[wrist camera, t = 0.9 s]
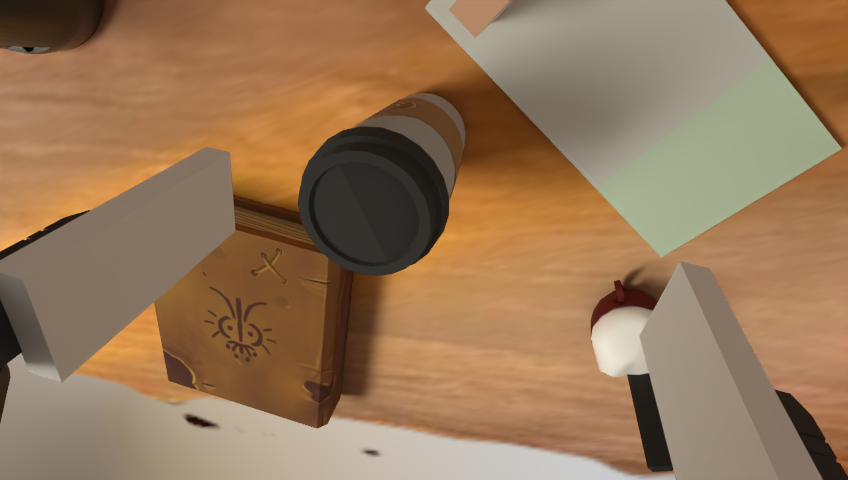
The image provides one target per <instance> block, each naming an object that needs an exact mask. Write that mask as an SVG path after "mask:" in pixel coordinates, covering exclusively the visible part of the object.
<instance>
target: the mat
mask: <svg viewBox="0 0 848 480" xmlns="http://www.w3.org/2000/svg"><path fill="white" fill-rule="evenodd" d="M455 1H456V0H431V1H430V2H429V3H428V4H427V6H426V7H425V9H426V10H427V11H428V12H429V13H430V15H431V16H432V17H433V18H434V19H435V20H436V21H437V22H438V23H439V24H440V25H441V26H442V27H443V28H444V29H445V30H446V31H447V32H448V33H449V35H450V36H451V37H452V38H453V39H454V40H455V41H456V42H457V43H458V44H459V45H460V46H461V47H462V48H463V49H464V50H465V51H466V52H467V53H468V55H469V56H470V57H471V58H472V59H473V60H474V61H475V62H476V63H477V64H478V65H479V66H480V67H481V68H482V69H483V70H484V71H485V72H486V73H487V75H488V76H489V77H490V78H491V79H492V80H493V81H494V82H495V83H496V84H497V85H498V86H499V87H500V88H501V89H502V90H503V91H504V92H505V93H506V95H507V96H508V97H509V98H510V99H511V100H512V101H513V102H514V103H515V104H516V105H517V106H518V107H519V108H520V109H521V110H522V111H523V112H524V113H525V115H526V116H527V117H528V118H529V119H530V120H531V121H532V122H533V123H534V124H535V125H536V126H537V127H538V128H539V129H540V130H541V131H542V132H543V133H544V135H545V136H546V137H547V138H548V139H549V140H550V141H551V142H552V143H553V144H554V145H555V146H556V147H557V148H558V149H559V150H560V151H561V152H562V153H563V155H564V156H565V157H566V158H567V159H568V160H569V161H570V162H571V163H572V164H573V165H574V166H575V167H576V168H577V169H578V170H579V171H580V172H581V173H582V175H583V176H584V177H585V178H586V179H587V180H588V181H589V182H590V183H591V184H592V185H593V186H594V187H595V188H596V189H597V190H598V191H599V192H600V193H601V194H602V195H603V196H604V198H605V199H606V200H607V201H608V202H609V203H610V204H611V205H612V206H613V207H614V208H615V209H616V210H617V211H618V212H619V213H620V214H621V215H622V217H623V218H624V219H625V220H626V221H627V222H628V223H629V224H630V225H631V226H632V227H633V228H634V229H635V230H636V231H637V232H638V233H639V234H640V235H641V237H642V238H643V239H644V240H645V241H646V242H647V243H648V244H649V245H650V246H651V247H652V248H653V249H654V250H655V251H656V252H657V253H658V254H659V255H660V257H663V256H665V255H666V254H668V253H670V252H671V251H673V250H675V249H676V248H678V247H680V246H681V245H683V244H685V243H686V242H688V241H690V240H691V239H693V238H695V237H696V236H698V235H700V234H701V233H703V232H705V231H706V230H708V229H710V228H711V227H713V226H715V225H716V224H718V223H720V222H721V221H723V220H725V219H726V218H728V217H730V216H731V215H733V214H734V213H736V212H738V211H739V210H741V209H743V208H744V207H746V206H748V205H749V204H751V203H753V202H754V201H756V200H758V199H759V198H761V197H763V196H764V195H766V194H768V193H769V192H771V191H773V190H774V189H776V188H778V187H779V186H781V185H783V184H784V183H786V182H788V181H789V180H791V179H793V178H794V177H796V176H798V175H799V174H801V173H803V172H804V171H806V170H808V169H809V168H811V167H813V166H814V165H816V164H818V163H819V162H821V161H823V160H824V159H826V158H828V157H829V156H831V155H833V154H834V153H836V152H838V151H839V150H841V149H842V148H841V147H840V146H839V144H838V143H837V142H836V140H835V139H834V138H833V137H832V135H831V134H830V133H829V132H828V130H827V129H826V128H825V127H824V125H823V124H822V123H821V121H820V120H819V119H818V118H817V116H816V115H815V114H814V113H813V111H812V110H811V109H810V107H809V106H808V105H807V104H806V102H805V101H804V100H803V99H802V97H801V96H800V95H799V93H798V92H797V91H796V90H795V88H794V87H793V86H792V85H791V83H790V82H789V81H788V79H787V78H786V77H785V76H784V74H783V73H782V72H781V71H780V69H779V68H778V67H777V65H776V64H775V63H774V62H773V60H772V59H771V58H770V56H769V55H768V54H767V53H766V51H765V50H764V49H763V47H762V46H761V45H760V44H759V42H758V41H757V40H756V39H755V37H754V36H753V35H752V33H751V32H750V31H749V30H748V28H747V27H746V26H745V25H744V23H743V22H742V21H741V19H740V18H739V17H738V16H737V14H736V13H735V12H734V11H733V9H732V8H731V7H730V5H729V4H728V3H727V2H726V0H513V1H512V2H511V3H510V4H509V5H508V6H507V8H506V9H505V10H504V11H503V12H502V13H501V14H500V15H499V16H498V17H497V18H496V19H495V20H494V21H493V22H492V23H491V24H490V25H489V26H488V27H487V28H486V29H485V30H484V31H482V32H481V33H480V34H479V35H478V36H477V37H476V38H475V37H474V36H473V35H472V34H471V33H470V32H469V31H468V30H467V29H466V28H465V27H464V25H463V24H462V23H461V22H460V21H459V20H458V19H457V18H456V17H455V16H454V15H453V14H452V13H451V12H450V11H449V9H450V7H451V6H452V5H453V4H454V3H455Z"/></svg>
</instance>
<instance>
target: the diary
mask: <svg viewBox="0 0 848 480" xmlns="http://www.w3.org/2000/svg"><path fill="white" fill-rule="evenodd" d="M233 203H234V217H235V232H234V233H233V234H231V235H230V236H229V237H228V238H227V239H226V240H224V241H223V242H222V243H221V244H220V245H219V246H218V247H216V248H215V249H214V250H213V251H212V252H211V253H210V254H208V255H207V256H206V257H205V258H204V259H203V260H202V261H200V262H199V263H198V264H197V265H196V266H195V267H194V268H192V269H191V270H190V271H189V272H188V273H187V274H186V275H184V276H183V277H182V278H181V279H180V280H179V281H178V282H176V283H175V284H174V285H173V286H172V287H171V288H170V289H168V290H167V291H166V292H165V293H164V294H163V295H161V296H160V297H159V298H158V299H157V300H156V301H155V302H154V304H155V309H156V315H157V320H158V326H159V331H160V336H161V342H162V347H163V353H164V358H165V364H166V369H167V374H168V380H169V381H171V382H174V383H177V384H180V385H183V386H187V387H190V388H193V389H196V390H199V391H202V392H205V393H208V394H211V395H215V396H218V397H221V398H224V399H227V400H230V401H233V402H236V403H239V404H243V405H246V406H249V407H252V408H255V409H258V410H261V411H264V412H268V413H270V414H274V415H277V416H280V417H283V418H286V419H289V420H292V421H295V422H298V423H302V424H305V425H308V426H311V427H314V428H319V427H322V426H324V425H326V424H328V422H329V420H330V418H331V416H332V414H333V411H334V409H335V407H336V405H337V403H338V401H339V399H340V396H341V386H342V376H343V366H344V356H345V347H346V337H347V327H348V317H349V307H350V298H351V288H352V278H353V271H351V270H348V269H345V268H343V267H341V266H340V265H338V264H336V263H335V262H333V261H331V260H330V259H328V258H327V257H326V256H325V255H324V254H323V253H322V252H321V251H320V250H319V249H318V248H317V247H316V246H315V245H314V243H313V242H312V240H311V239H310V238H309V236H308V235H307V233H306V231H305V228H304V226H303V223H302V221H301V219H300V213H298V212H294V211H290V210H287V209H283V208H279V207H275V206H272V205H268V204H264V203H261V202H257V201H253V200H249V199H246V198H242V197H238V196H234V195H233Z"/></svg>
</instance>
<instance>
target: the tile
mask: <svg viewBox="0 0 848 480" xmlns="http://www.w3.org/2000/svg"><path fill="white" fill-rule="evenodd" d="M512 1H513V0H456V1H455V3H454V4H453V5H452V6H451V7H450V9H449V11H450V12H451V13H452V14H453V15H454V16H455V17H456V18H457V19H458V20H459V21H460V22H461V23H462V24H463V25H464V27H465V28H466V29H467V30H468V31H469V32H470V33H471V34H472V35H473V36H474V37H475V38H476V37H477V36H478V35H479V34H480V33H481V32H482V31H484V30H485V29H486V28H487V27H488V26H489V25H490V24H491V23H492V22H493V21H494V20H495V19H496V18H497V17H498V16H499V15H500V14H501V13H502V12H503V11H504V10H505V9H506V8H507V6H508V5H509V4H510V3H511V2H512Z"/></svg>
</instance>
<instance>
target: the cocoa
mask: <svg viewBox="0 0 848 480" xmlns="http://www.w3.org/2000/svg"><path fill="white" fill-rule="evenodd" d="M614 284H615V289H616V292H612V293H611V294H609V295H607V296H606V297H604V298H603V299H601V300H600V301H599V303H598V305H597V306H596V308H595V309H594V312H593V314H592V318H591V342H592V344H593V348H594V351H595V355H596V358H597V362H598V365H599V368H600V371H602V372H604V373H606V374H608V375H610V376H612V377H620V376H625V375H627V376H628V380H629V385H630V390H631V394H632V399H633V403H634V408H635V412H636V417H637V421H638V426H639V430H640V435H641V439H642V444H643V448H644V453H645V458H646V462H647V467H648V469H650V470H651V471H652V472H659V471H672V470H673V465H672V462H671V458H670V454H669V450H668V446H667V442H666V438H665V434H664V430H663V426H662V422H661V418H660V415H659V411H658V407H657V403H656V399H655V395H654V391H653V387H652V383H651V379H650V375H649V371H648V368H647V364H646V360H645V356H644V352H643V348H642V344H641V340H640V334H641V332H642V330H643V328H644V326H645V325H646V323H647V321H648V319H649V317H650V315H651V314H652V312H653V310H654V308H655V306H656V304H657V303H658V301H657V300H656V299H654V298H652V297H651V296H649V295H647V294H646V293H644V292H640V291H634V290H624V288H623V286H622V284H621V281H620V280H617V281H614Z"/></svg>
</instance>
